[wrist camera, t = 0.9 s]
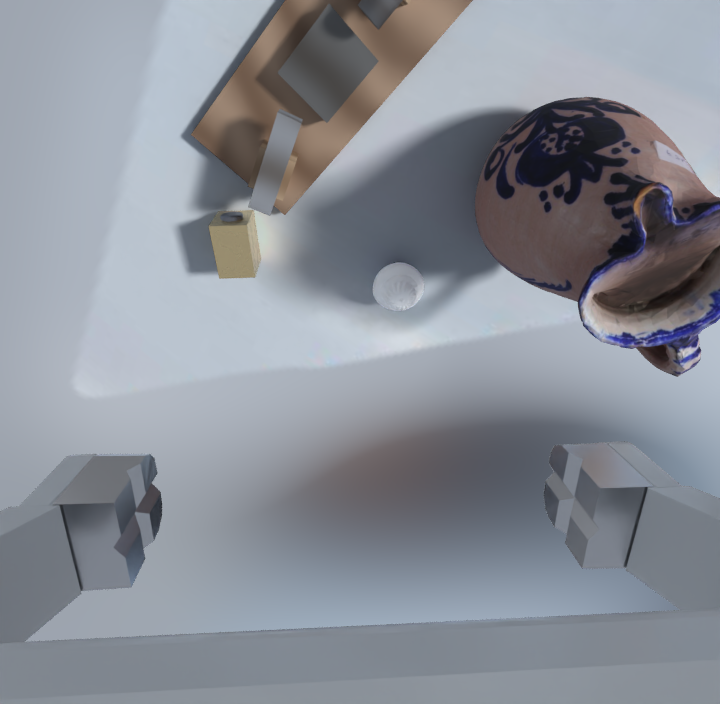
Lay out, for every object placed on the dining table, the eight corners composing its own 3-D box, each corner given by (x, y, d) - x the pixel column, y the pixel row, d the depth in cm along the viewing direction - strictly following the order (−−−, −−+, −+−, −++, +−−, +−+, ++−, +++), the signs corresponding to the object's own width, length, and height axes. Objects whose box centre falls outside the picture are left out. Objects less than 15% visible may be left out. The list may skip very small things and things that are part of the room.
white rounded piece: (412, 244, 56) (420, 269, 51) (425, 287, 60) (435, 314, 54) (363, 261, 57) (366, 287, 52) (379, 302, 61) (384, 331, 55)
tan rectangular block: (217, 208, 53) (207, 223, 49) (253, 207, 53) (246, 222, 49) (228, 262, 57) (219, 280, 53) (261, 261, 57) (255, 279, 53)
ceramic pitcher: (578, 46, 45) (778, 60, 25) (653, 210, 55) (842, 318, 35) (430, 167, 51) (493, 260, 31) (521, 297, 61) (616, 433, 41)
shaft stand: (389, -145, 38) (399, -180, 31) (480, -13, 43) (505, -20, 36) (194, 131, 48) (173, 147, 42) (286, 210, 53) (279, 235, 47)
